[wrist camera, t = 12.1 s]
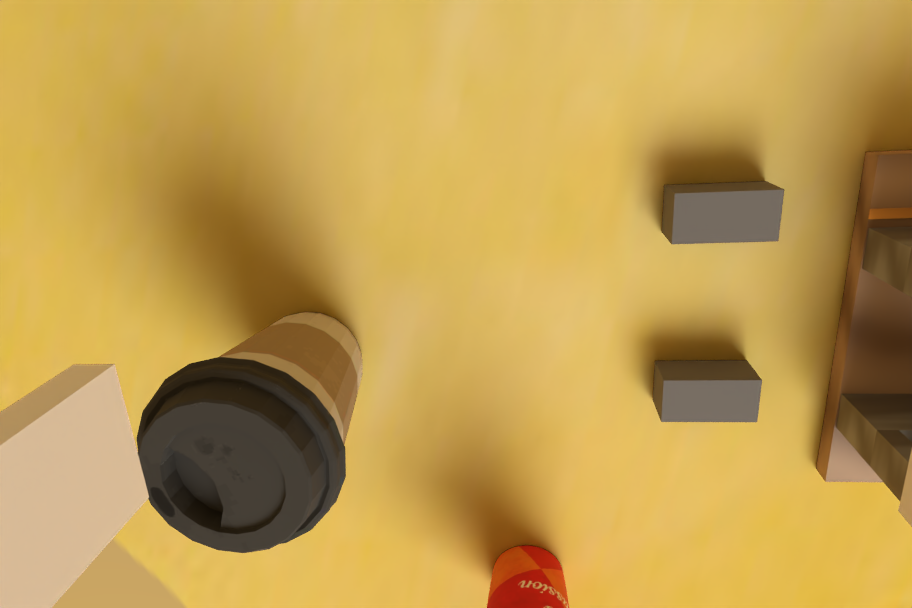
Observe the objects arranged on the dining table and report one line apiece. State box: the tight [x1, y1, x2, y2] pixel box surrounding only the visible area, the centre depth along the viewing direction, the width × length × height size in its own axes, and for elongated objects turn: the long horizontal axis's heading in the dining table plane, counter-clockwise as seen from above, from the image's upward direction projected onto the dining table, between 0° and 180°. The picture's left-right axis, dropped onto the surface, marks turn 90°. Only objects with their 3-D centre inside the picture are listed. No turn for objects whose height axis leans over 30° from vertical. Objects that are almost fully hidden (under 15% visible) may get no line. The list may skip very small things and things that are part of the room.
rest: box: [653, 181, 784, 422], centre depth 40 cm, size 15×6×3 cm, turn 3°
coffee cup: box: [137, 312, 362, 553], centre depth 39 cm, size 11×11×15 cm
